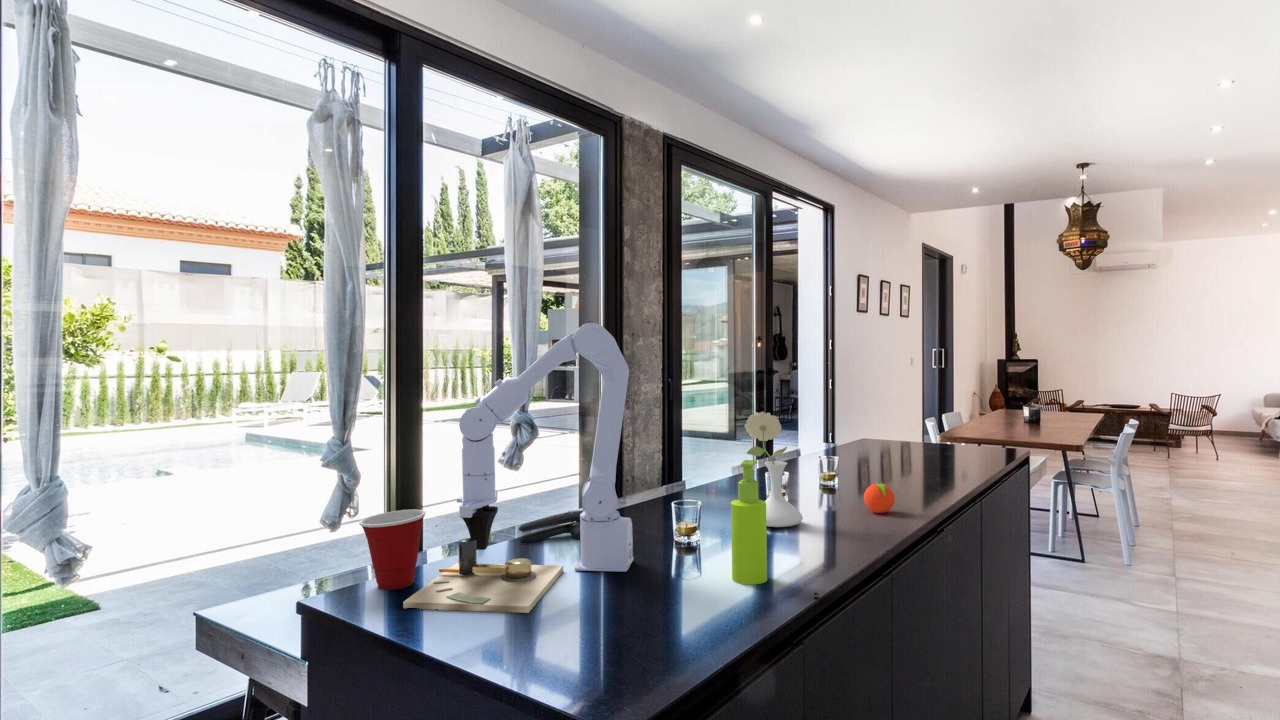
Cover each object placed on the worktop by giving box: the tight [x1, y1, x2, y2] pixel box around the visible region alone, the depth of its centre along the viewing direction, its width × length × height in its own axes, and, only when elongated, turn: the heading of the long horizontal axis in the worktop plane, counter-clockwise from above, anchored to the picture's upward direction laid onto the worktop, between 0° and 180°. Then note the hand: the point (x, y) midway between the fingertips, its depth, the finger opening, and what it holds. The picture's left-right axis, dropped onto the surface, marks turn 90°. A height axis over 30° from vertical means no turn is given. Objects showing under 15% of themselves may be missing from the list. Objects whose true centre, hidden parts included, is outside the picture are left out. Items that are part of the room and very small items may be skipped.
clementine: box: [863, 482, 896, 514], centre depth 174 cm, size 8×7×7 cm
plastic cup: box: [358, 509, 426, 591], centre depth 127 cm, size 11×11×12 cm
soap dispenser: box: [730, 459, 768, 586], centre depth 127 cm, size 6×7×20 cm
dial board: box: [402, 562, 564, 614], centre depth 124 cm, size 20×21×1 cm
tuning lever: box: [438, 537, 532, 578], centre depth 128 cm, size 16×4×6 cm, turn 82°
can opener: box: [518, 509, 584, 543], centre depth 157 cm, size 18×7×6 cm, turn 111°
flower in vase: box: [744, 411, 804, 528], centre depth 165 cm, size 13×11×25 cm
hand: (480, 548), depth 134 cm, fingers closed
